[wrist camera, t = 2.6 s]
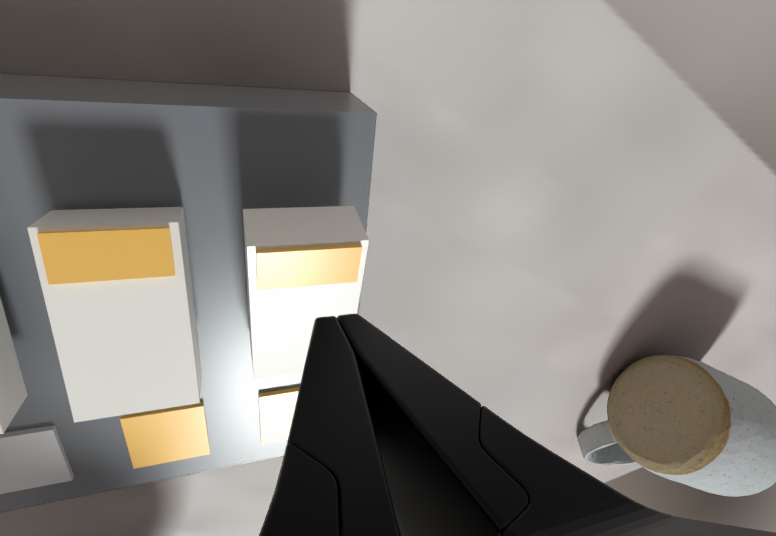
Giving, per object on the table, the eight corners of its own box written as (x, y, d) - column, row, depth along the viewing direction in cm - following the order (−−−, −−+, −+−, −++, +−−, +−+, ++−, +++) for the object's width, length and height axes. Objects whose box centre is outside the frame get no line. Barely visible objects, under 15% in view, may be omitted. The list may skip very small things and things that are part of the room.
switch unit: (332, 392, 22) (348, 446, 20) (-7, 447, 18) (-44, 526, 15) (350, 92, 15) (378, 114, 13) (-200, 62, 11) (-328, 87, 8)
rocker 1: (202, 371, 14) (199, 406, 12) (89, 386, 13) (72, 426, 12) (183, 206, 12) (177, 223, 11) (51, 210, 11) (24, 229, 10)
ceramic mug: (653, 324, 28) (775, 423, 22) (711, 353, 32) (827, 443, 26) (545, 439, 31) (625, 553, 25) (610, 452, 36) (692, 552, 30)
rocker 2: (338, 329, 16) (349, 369, 15) (250, 339, 15) (254, 383, 14) (354, 205, 13) (370, 243, 12) (242, 208, 12) (247, 250, 11)
